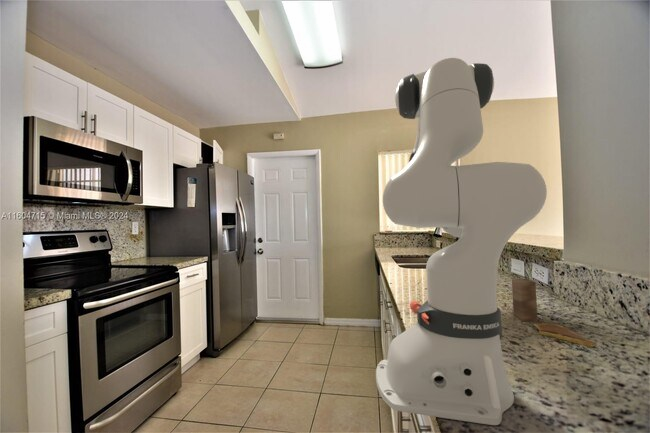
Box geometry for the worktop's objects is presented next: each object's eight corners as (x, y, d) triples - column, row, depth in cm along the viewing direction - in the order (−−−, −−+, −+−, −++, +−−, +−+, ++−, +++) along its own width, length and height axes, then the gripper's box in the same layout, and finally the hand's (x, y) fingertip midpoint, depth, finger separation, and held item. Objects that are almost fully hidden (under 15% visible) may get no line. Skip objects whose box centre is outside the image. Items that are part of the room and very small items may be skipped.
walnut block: (522, 321, 75) (520, 282, 75) (513, 316, 79) (511, 279, 79) (537, 321, 74) (535, 281, 75) (527, 316, 78) (525, 278, 79)
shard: (596, 350, 58) (596, 342, 58) (557, 348, 60) (557, 340, 60) (562, 330, 69) (561, 323, 69) (529, 329, 70) (528, 322, 70)
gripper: (435, 215, 89) (473, 230, 77) (476, 203, 97) (515, 215, 85) (433, 232, 91) (470, 249, 79) (473, 219, 99) (511, 232, 88)
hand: (494, 231), depth 82 cm, fingers open, 8 cm apart
